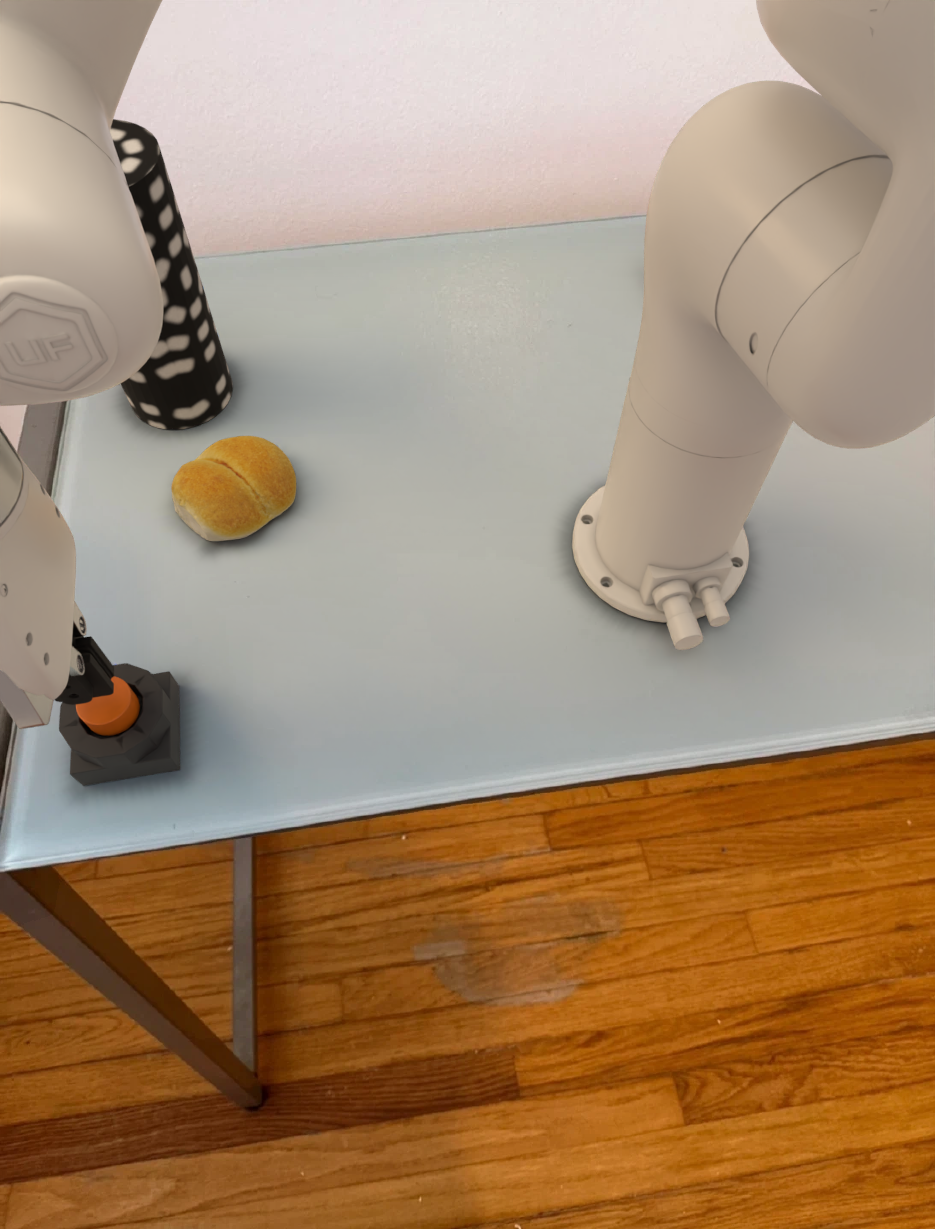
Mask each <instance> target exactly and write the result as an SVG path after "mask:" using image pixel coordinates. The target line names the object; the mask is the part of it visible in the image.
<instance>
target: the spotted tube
mask: <svg viewBox="0 0 935 1229" xmlns="http://www.w3.org/2000/svg"><path fill="white" fill-rule="evenodd" d="M110 134H111V137H112V140H113V143H114V146H115V149H116V152H117V155H118V158H119V161H120V164H121V166H122V169H123V172H124V175H125V178H126V181H127V185H128V188H129V191H130V193H131V195H132V198H133V201H134V204H135V207H136V210H137V212H138V215H139V218H140V221H141V224H142V227H143V230H144V233H145V235H146V238H147V241H148V244H149V247H150V250H151V253H152V256H153V259H154V262H155V266H156V270H157V273H158V276H159V279H160V285H161V291H162V298H163V323H162V329H161V333H160V336H159V340H158V342H157V345H156V347H155V349H154V351H153V352H152V354H151V356H150V358H149V359H148V360H147V361H146V363H145V364H144V365H143V366H142V367H141V368H140V369H139V370H138V371H137V372H136V373H135V374H134V375H132V376H131V377H130V378H128V379H127V380H125V381H124V382H122V383H121V384H120V386H121V388H122V390H123V393H124V394H125V396H126V399H127V402H128V403H129V405H130V407H131V409H132V411H133V413H134V414H135V415H136V416H137V418H139V420H141V421H142V422H143V423H145V424H147V425H149V426H151V427H154V428H158V429H163V430H173V431H174V430H186V429H190V428H194V427H197V426H200V425H202V424H205V423H207V422H208V421H210V420H212V419H214V418H216V416H218V415H219V414H220V413H221V412H222V411H223V410H224V409H225V408H226V406H227V405H228V404H229V401H230V399H231V398H232V395H233V390H234V385H233V378H232V376H231V373H230V372H231V371H230V368H229V366H228V363H227V359H226V356H225V353H224V350H223V346H222V344H221V340H220V337H219V334H218V330H217V327H216V324H215V321H214V317H213V314H212V311H211V308H210V304H209V302H208V299H207V295H206V292H205V289H204V285H203V282H202V279H201V276H200V273H199V269H198V267H197V263H196V259H195V256H194V253H193V250H192V247H191V244H190V240H189V238H188V234H187V230H186V228H185V224H184V220H183V217H182V214H181V211H180V209H179V205H178V202H177V198H176V196H175V192H174V188H173V185H172V182H171V178H170V176H169V172H168V170H167V166H166V163H165V160H164V157H163V153H162V150H161V147H160V144H159V142H158V139H157V138H156V136H155V135H154V134H153V133H152V132H151V131H150V130H148V129H147V128H146V127H144V126H142V125H139V124H137V123H135V122H130V121H128V120H123V119H122V120H121V119H115V118H113V121H112V125H111V128H110Z"/></svg>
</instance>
